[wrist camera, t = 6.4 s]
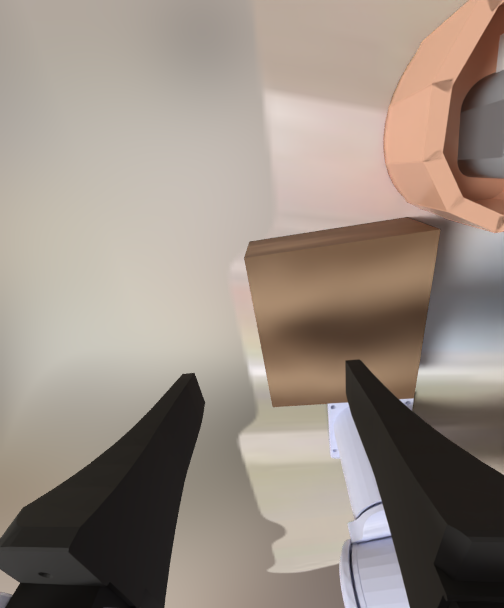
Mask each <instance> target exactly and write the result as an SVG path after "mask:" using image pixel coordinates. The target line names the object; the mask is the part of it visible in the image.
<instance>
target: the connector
mask: <svg viewBox="0 0 504 608" xmlns="http://www.w3.org/2000/svg"><path fill="white" fill-rule="evenodd" d="M457 164H458V168H459V170H460V172H461V173H462V174H463V175H465V176H467V177H474V178H500V179H504V34H502V35H500V39H499V48H498V58H497V67H496V72H494V73H492V74H490V75H488V76H485V77H484V78H482V79H480V80H479V81H478V82H477V83H475V84H474V85H473V86H472V88H471V89H470V90H469V91H468V93H467V94H466V96H465V98H464V100H463V103H462V106H461V112H460V127H459V142H458V158H457Z"/></svg>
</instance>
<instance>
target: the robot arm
mask: <svg viewBox="0 0 504 608" xmlns="http://www.w3.org/2000/svg"><path fill="white" fill-rule="evenodd" d="M345 373H346V396H347V400H348V402H347V403H330V404H328V422H329V441H330V455H331V457H332V458H340V460H341V464H342V468H343V472H344V477H345V481H346V485H347V490H348V494H349V498H350V502H351V507H352V511H353V515H354V521H351V522H348V528H349V533H350V537H351V539H348V540H346V541H345V542H344V544H343V547H342V553H341V557H340V566H339V570H340V583H341V589H342V595H343V600H344V605H345V608H504V475H503V474H501V473H500V472H498V471H496V470H495V469H493V468H491V467H490V466H488V465H486V464H485V463H483V462H482V461H480V460H478V459H477V458H475V457H474V456H472V455H471V454H469V453H468V452H466V451H465V450H463V449H462V448H460V447H459V446H457V445H456V444H454V443H453V442H451V441H450V440H449V439H447V438H446V437H445V436H443V435H442V434H440V433H439V432H438V431H436V430H435V429H434V428H432V427H431V426H430V425H429V424H427V423H426V422H425V421H424V420H422V419H421V418H420V417H419V416H417V415H416V414H415V413H414V412H413V411H412V408H413V401H414V398H413V399H398V398H397V397H396V396H395V395H394V394H393V393H392V392H391V391H390V390H389V389H388V388H387V387H386V386H384V384H383V383H382V382H381V381H380V380H379V379H378V378H377V377H376V376H375V375H374V374H373V373H372V372H371V371H370V370H369V369H368V368H367V366H366V365H365V364H364V363H363V362H362V361H361V360H360V359H357V360H345ZM204 405H205V401H204V398H203V396H202V393H201V390H200V387H199V385H198V382H197V379H196V376H195V373H190V374H182V376H181V377H180V378H179V379H178V380H177V381H176V382H175V383H174V384H173V386H172V387H171V388H170V389H169V390H168V391H167V392H166V393H165V394H164V396H163V397H162V398H161V399H160V400H159V401H158V402H157V403H156V404H155V406H154V407H153V408H152V409H151V410H150V411H149V412H148V413H147V414H146V415H145V416H144V417H143V418H142V419H141V420H140V421H139V422H138V423H137V424H136V425H135V426H134V427H133V428H132V429H131V430H130V431H129V432H127V433H126V434H125V435H124V436H123V437H122V438H121V439H120V440H118V442H116V443H115V444H114V445H113V446H111V447H110V448H109V449H108V450H106V451H105V452H104V453H103V454H101V455H100V456H99V457H98V458H96V459H95V460H94V461H92V462H91V463H90V464H89V465H87V466H86V467H84V468H83V469H82V470H80V471H79V472H78V473H76V474H75V475H73V476H72V477H70V478H69V479H68V480H66V481H65V482H63V483H62V484H60V485H59V486H57V487H56V488H54V489H53V490H51V491H49V492H48V493H46V494H44V495H43V496H41V497H40V498H38V499H37V500H35V501H33V502H32V503H30V504H28V505H27V506H25V507H23V509H22V510H21V511H20V512H19V514H18V515H17V517H16V518H15V519H14V521H13V522H12V523H11V525H10V526H9V527H8V529H7V530H6V532H5V533H4V534H3V536H2V537H1V538H0V569H1V570H2V571H4V572H5V573H6V574H8V575H9V576H11V577H12V578H14V579H15V580H17V581H18V582H20V584H19V586H18V588H17V589H16V591H15V593H14V594H13V595H11V594H8V593H3V592H0V608H164V605H165V596H166V589H167V582H168V574H169V567H170V559H171V553H172V547H173V541H174V535H175V529H176V523H177V517H178V512H179V506H180V501H181V496H182V492H183V487H184V482H185V478H186V474H187V470H188V467H189V464H190V460H191V457H192V454H193V450H194V447H195V443H196V440H197V437H198V433H199V430H200V427H201V423H202V418H203V412H204ZM333 405H334V406H333Z"/></svg>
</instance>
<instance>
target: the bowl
mask: <svg viewBox="0 0 504 608" xmlns="http://www.w3.org/2000/svg"><path fill="white" fill-rule="evenodd" d="M502 34H504V0H468V1H467V2H466V3H465V4H463V5H462V6H461V7H460V8H459V9H458V10H457V11H456V12H455V13H453V14H452V15H451V16H450V17H449V18H448V19H447V20H445V21H444V22H443V23H442V24H441V25H440V26H439V27H438V28H437V29H436V30H435V31H433V32H432V33H431V34H430V35H429V36H428V37H427V38H425V39H424V40H423V41H422V42H421V45H420V47H419V49H418V51H417V52H416V54H415V55H414V57H413V58H412V60H411V61H410V63H409V64H408V66H407V67H406V69H405V71H404V73H403V75H402V76H401V78H400V80H399V82H398V85H397V87H396V89H395V91H394V94H393V96H392V99H391V103H390V106H389V109H388V113H387V117H386V122H385V129H384V157H385V163H386V167H387V171H388V174H389V176H390V178H391V181H392V183H393V184H394V186H395V187H396V189H397V190H398V192H399V193H400V194H401V195H402V196H403V197H404V198H405V200H406V202H407V203H410V204H412V205H414V206H416V207H418V208H420V209H423V210H425V211H428V212H431V213H433V214H436V215H438V216H440V217H443V218H444V219H448V220H451V221H455V222H458V223H462V224H465V225H469V226H473V227H476V228H480V229H483V230H487V231H490V232H494V233H498V232H504V179H500V178H474V177H467V176H465V175H463V174H462V173H461V172H460V170H459V168H458V164H457V158H458V142H459V127H460V112H461V106H462V103H463V100H464V98H465V96H466V94H467V93H468V91H469V90H470V89H471V88H472V86H473V85H474V84H475V83H477V82H478V81H479V80H480V79H482V78H484V77H485V76H488V75H490V74H492V73H494V72H496V67H497V58H498V48H499V39H500V35H502Z"/></svg>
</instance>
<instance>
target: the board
mask: <svg viewBox="0 0 504 608" xmlns="http://www.w3.org/2000/svg"><path fill="white" fill-rule="evenodd" d="M440 230H441V229H438V228H435V227H433V226H430V225H427V224H424V223H421V222H419V221H416V220H413V219H410V218H407V217H406V218H399V219H393V220H386V221H380V222H373V223H367V224H361V225H354V226H348V227H341V228H335V229H328V230H322V231H316V232H309V233H303V234H296V235H290V236H283V237H277V238H270V239H264V240H258V241H251V242H249V245H248V248H247V251H246V254H245V257H244V260H245V265H246V270H247V275H248V281H249V286H250V291H251V296H252V301H253V307H254V312H255V317H256V322H257V327H258V333H259V338H260V343H261V348H262V354H263V359H264V364H265V369H266V374H267V380H268V385H269V390H270V395H271V401H272V406H273V407H281V406H298V405H314V404H330V403H347V402H348V400H347V396H346V373H345V360H357V359H360V360H361V361H362V362H363V363H364V364H365V365H366V366H367V368H368V369H369V370H370V371H371V372H372V373H373V374H374V375H375V376H376V377H377V378H378V379H379V380H380V381H381V382H382V383H383V384H384V386H386V387H387V388H388V389H389V390H390V391H391V392H392V393H393V394H394V395H395V396H396V397H397V398H398V399H413V398H414V394H415V388H416V381H417V375H418V369H419V362H420V356H421V350H422V343H423V337H424V331H425V325H426V318H427V312H428V306H429V299H430V293H431V287H432V280H433V274H434V268H435V261H436V255H437V249H438V242H439V236H440Z"/></svg>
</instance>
